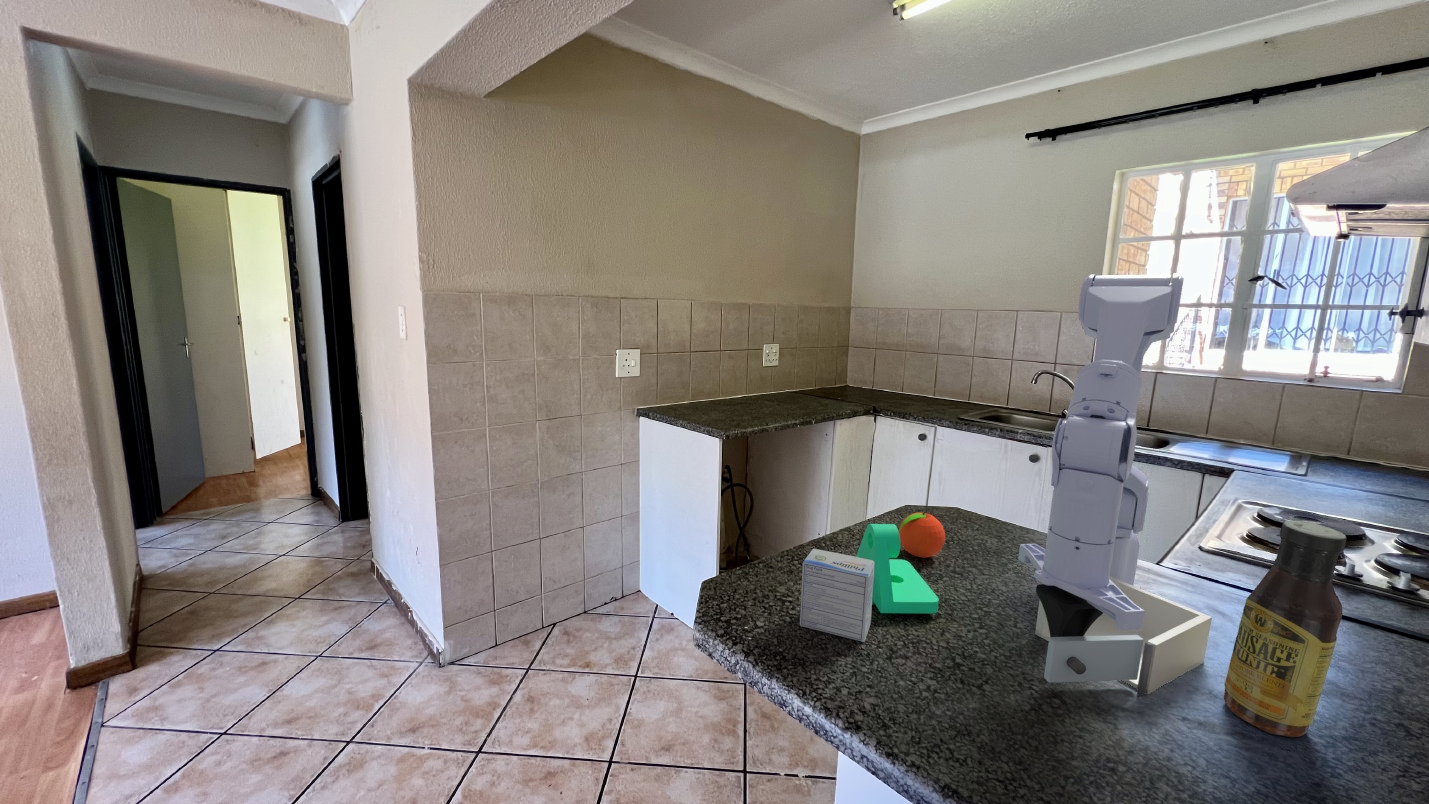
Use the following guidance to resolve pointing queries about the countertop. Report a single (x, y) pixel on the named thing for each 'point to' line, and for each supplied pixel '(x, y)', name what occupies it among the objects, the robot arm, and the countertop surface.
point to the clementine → (921, 535)
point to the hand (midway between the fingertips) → (1063, 654)
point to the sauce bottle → (1288, 633)
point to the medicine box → (837, 594)
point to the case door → (1093, 658)
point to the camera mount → (894, 574)
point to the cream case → (1154, 636)
